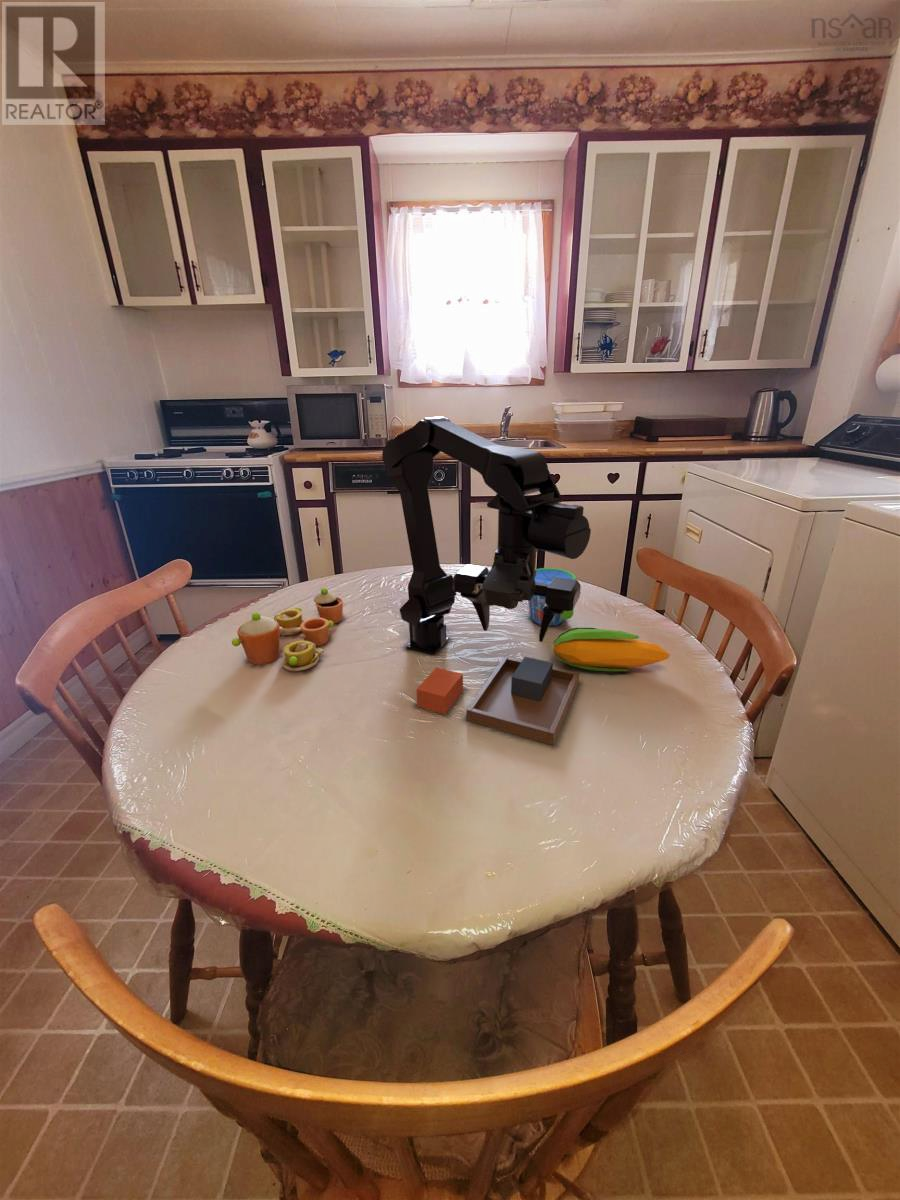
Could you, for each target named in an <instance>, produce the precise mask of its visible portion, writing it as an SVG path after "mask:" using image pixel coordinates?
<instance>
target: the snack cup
mask: <svg viewBox="0 0 900 1200" xmlns="http://www.w3.org/2000/svg"><path fill="white" fill-rule="evenodd" d="M535 570H536V577H535V582H539V583H546V584H550V583H551V582H552V580H553V579H554V577H559V578H566V579H573V580H577V581H578V579H577V577H576V575H575V574H574V573H572V572H570V571H568V570H566V569H562V568H555V567H554V568H553V567H542V568H541V567H540V568H535ZM527 602H528V611H529V617H530V619H531V621H533V622H534V623H536V624H537V625H539V626H541V623H542V618H543V608H544V606H545V605H546V603H545V597H544V596H538V595H533V596H532V599H531V600H530V601H528V600H527ZM573 616H574V609H573V610H572V611H564V613H563V614H555V616H554V617H553V619H552V621H551V624H550V626H549V627H551V626H553V627H554V626H555V627H557V626H558V625H560V624H562V623H564V622H565V621H566V620H570V619H571V618H572V617H573Z"/></svg>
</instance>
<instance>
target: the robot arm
mask: <svg viewBox="0 0 900 1200" xmlns="http://www.w3.org/2000/svg"><path fill="white" fill-rule="evenodd" d="M440 453H442V454H445V455H446V456H448V457H450V458H452V459H454V460H456V461H458V462H460V463H461V464H463V465H464V466H467V467H469V468H470V469H472V470H474V471H476V472H477V473H478V474H480V475H481V477H482V479H483V482H484V484H485V485H486V486H487V487H488V488H490V489H491V490H492V491H493V492H494V493H495V496H494V497H493V498H491V499H490V500H489V501H488V502H487V503H486V507H487V508H490V509H494V510H497V511H498V513H497V514H498V515H497V545H496V546H497V549H496V551H494V557H493V562H492V565H491V568H490V570H489V568H488V567H487V566H483V565H478V564H477V565H475V564H469V563H468V564H466V565H465V566H464V567H462V568H461V569H460V570H458V572H457V573H455V574H454V575H452V574H447V573H446V571H445V570H444V568H442V567H441V563H440V558H439V557H440V556H439V551H438V545H437V539H436V531H435V526H434V520H433V512H432V506H431V500H430V494H429V485H430V483H431V479H432V478H433V477H432V476H433V475H434V469H435V468H434V459H435V457H437V456H438V455H440ZM381 455H382V461H383V465H384V468H385V471H386V475H387V478H388V479H389V481H390V482H391V483H392V484H393V485H394V487H395V488H396V490H397V491H398V492H399V496H400V501H401V507H402V512H403V513H402V514H403V518H404V524H405V530H406V536H407V542H408V547H409V553H410V558H411V563H412V574H411V576H410V580H409V581H408V582H409V583H408V585H407V594H408V599H407V601H405V602H404V604H403V605H402V606H401V607H400V608H399V614H400V617H401V620H402V621H404V622H406V623H407V624H408V630H409V632H408V633H409V642H408V643H406V644H405V648H406V649H409V650H413V651H418V652H422V653H426V654H431V655H435V654H437V653H438V652H439V651H440V650H441V648H443V647H444V645H446V643H447V642H449V637H447V635H448V634H447V624H446V623H445V616H446V615H449V614H450V613H451V611H452V607H453V606H454V604H455V601H456V596H457V593H459V594H460V596H461V597H462V598H465V599H467V600H468V601H470V603H471V604H472V606H473V608H474V610H475V612H476V614H477V617H478V619H479V622H480V624H481V627H482V629H483V632H487V631H488V630H489V627H490V618H491V617H490V614H491V613H490V612H491V611H490V610H491V609H490V607H494V606H495V607H500V608H504V609H506V610H513V609H516V608H517V607H518V605H519V603H523V602H524V601H527V602H528V601H530V600H531V599H532V596H533V595H538V596H544V597H545V603H546V605H545V606H544V608H543V618H542V623H541V625H540V628H539V636H538V637H539V638H538V642H540V643H542V642H543V641H544V639H545V637H546V635H547V632H548V630H549V628H550V627H551V626H550V624H551V621H552V619H553V617H554V616H555V614H563V613H564V611H572V610H573V611H574V609H575V607H576V605H577V603H578V601H579V599H580V598H581V586H582V585H581V583H580V582H579V580H578V579H577V580H573V579H566V578H559V577H554V579H553V580H552V582H551V583H550V584H546V583H539V582H535V577H536V570H535V569H536V563H537V552H538V551H543V552H547V553H550V554H553V555H557V556H559V557H560V556H561V557H563V558H568V559H570V560H576V559H578V558H579V557H580V556H582V555H583V553H584V552H585V551H586V549H587V547H588V545H589V541H590V538H591V532H592V529H591V528H590V523H589V520H588V518H587V517H586V516H585V515H584V508H585V507H584V506H583V505H579V504H566V503H562V502H563V496H562V494H561V493H560V491H559V489H558V487H557V484H556V482H555V480H554V478H553V476H552V474H551V471H550V470H549V466H548V463H547V458H546V457H545V456H544V454H543V453H541V452H540V451H537V450H533V449H528V448H525V447H524V448H523V447H519V446H507V445H502V444H497V443H496V442H493V441H492V440H489V439H487V438H485V437H483V436H481V435H478V434H477V433H475V432H472V431H470V430H469V429H467V428H464V427H462V426H460V425H458V424H456V423H454V422H452V421H451V420H450V418H448V417H445V416H433V417H424V418H421V420H418V421H417V422H416V423H415V424H414V426H412V427H410V428H408V429H407V430H405V431H403V432H401V433H399V434H398V435H396V436H394V437H393V438H390V439H387V441H386V443H385V445H384V448H382V452H381ZM538 492H539V493H538ZM534 493H537V494H534ZM531 494H533V495H531ZM526 495H529V496H526Z"/></svg>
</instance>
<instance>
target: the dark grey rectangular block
mask: <svg viewBox="0 0 900 1200" xmlns="http://www.w3.org/2000/svg"><path fill="white" fill-rule="evenodd" d="M521 660H522V662H521V663H520V665H519V666H518V668H517V670H516V671H515V673H514V674H513V676H512V682H511V694H512V695H516V696H520V697H524V698H528V699H532V700H536V701H541V699H542V697H543V695H544V693H545V691H546V689H547V687H548V685H549V683H550V681H551V679H552V667H554V662H553V661H547V660H543V659H537V658H533V657H529V656H524V657H523V659H521Z"/></svg>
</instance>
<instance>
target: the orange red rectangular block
mask: <svg viewBox="0 0 900 1200" xmlns="http://www.w3.org/2000/svg"><path fill="white" fill-rule="evenodd" d="M433 669H434V670H433V671H431V673H430V674H428V676H427V677H426V678H425V679H424V680H423V682H422V683H421V684H419V686H418V687H417V688H416V702H417V703H416V705H417V707H418V708H422V709H425V710H429V711H432V712H435V713H439V714H442V715H446V714H447V713H448V711H449V710H450V709H451V707H452V706H453V705H454V703H455V702H456V701H457V699H459V697H460V695H461V694H462V693H463V692H464V674H463V673H461V672H457V671H452V670H449V669H445V668H440V667H437V666H436V667H435V668H433Z"/></svg>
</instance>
